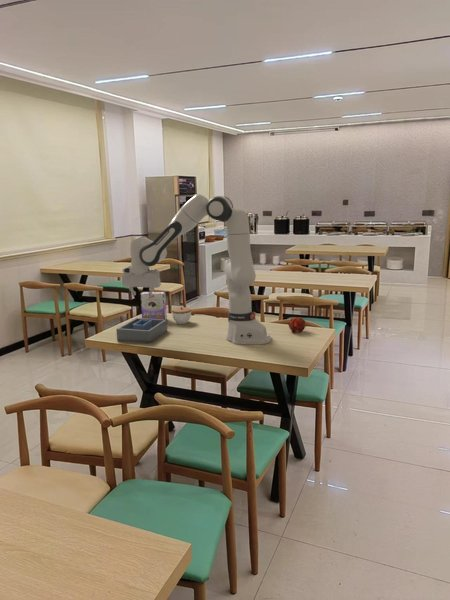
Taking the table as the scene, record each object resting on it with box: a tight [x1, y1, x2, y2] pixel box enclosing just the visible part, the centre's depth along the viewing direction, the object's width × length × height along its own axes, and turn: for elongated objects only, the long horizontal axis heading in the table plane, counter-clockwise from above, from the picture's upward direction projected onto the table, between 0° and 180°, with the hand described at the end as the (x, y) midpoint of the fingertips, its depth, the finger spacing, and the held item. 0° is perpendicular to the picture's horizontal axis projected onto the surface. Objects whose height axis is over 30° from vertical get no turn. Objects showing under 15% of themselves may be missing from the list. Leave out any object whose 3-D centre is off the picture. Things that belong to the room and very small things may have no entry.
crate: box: [116, 317, 168, 344], centre depth 244 cm, size 18×22×6 cm
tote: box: [133, 320, 152, 330], centre depth 244 cm, size 6×10×6 cm, turn 164°
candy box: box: [139, 291, 168, 320], centre depth 273 cm, size 14×6×16 cm, turn 84°
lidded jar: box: [171, 306, 192, 325], centre depth 267 cm, size 11×11×9 cm
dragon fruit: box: [288, 316, 307, 334], centre depth 246 cm, size 8×8×12 cm
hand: (142, 295), depth 241 cm, fingers open, 8 cm apart
